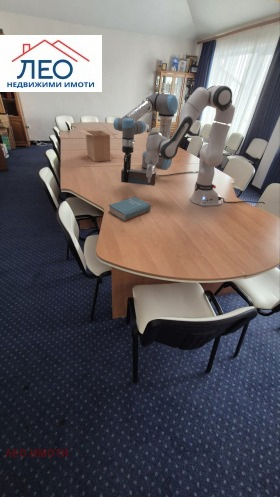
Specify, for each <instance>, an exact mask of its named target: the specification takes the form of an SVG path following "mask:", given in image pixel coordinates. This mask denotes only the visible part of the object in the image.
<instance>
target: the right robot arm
mask: <svg viewBox="0 0 280 497" xmlns="http://www.w3.org/2000/svg"><path fill="white" fill-rule="evenodd" d="M207 107H211V108H213V109H215V115H214V118H213V120H212V124H211V127H210V130H209V133H208V143H207V144H204V145H202V146H201V148H200V149H199V163H198V165H199V166H198V171H199V172H198V171H197V178H196V181H195V184H194V189H193V193H192V195H191V197H190V201H191V203H194V204H196V205H199V206H201V207H211V206H220V205H221V201H222V202H223V203H227V204H236V203H254V204H263V205H266V202H264V201H252V200H251V201H250V200H240V201H239V200H238V201H225V198H224V197H222V195H221V194H218V192H217V191H216V190H215V189H216V188H217V186H216V184H214V183H213V181H214V177H215V167H218V166H220V165H221V164H222V162H223V160H224V150H225V144H226V140H227V137H228V134H229V131H230V129H231V125H232V123H233V120H234V117H235V111H236V106H235V104H234V103H233V91H232V89H231V88H230V86H228V85H224V84H217V85H211V86H210V87H208V88H206V87H203V86H199V87H197V88H196V89H195V90H194V91H193V92H192V94H190V96H189V97H188V99H187V100H186V101H185V103H184V104H183V106H182V108H181V109H180V112H179V125H178V127H177V128H176V130H175V132H174V133H173V135H172V136H171V137H170V139H168V138H165V137H164V136H162V135H161V134H160V132H157V131H154V132H150V133H148V134H147V137H146V142H145V151H146V155H145V162H146V163H147V172H146V177H148V182H151V177H152V175H153V172H154V169H155V170H156V168H155V165H156V164H157V163H158V158H159V154H161V155H162V157H163V158H164V159H166V160H170V159H172V160H173V159H174V158H176V156H177V154H178V152H179V151H178V150H179V147H180V145H181V144H182V142H183V140H184V139H185V137H186V136H187V135H188V133H189V131H190V129H191V128H192V127H193V125H194V123H195V122H196V121H197V119H198V118H199V117H200V115H201V114H202V113H203V111H204V110H205V109H206V108H207Z"/></svg>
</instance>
